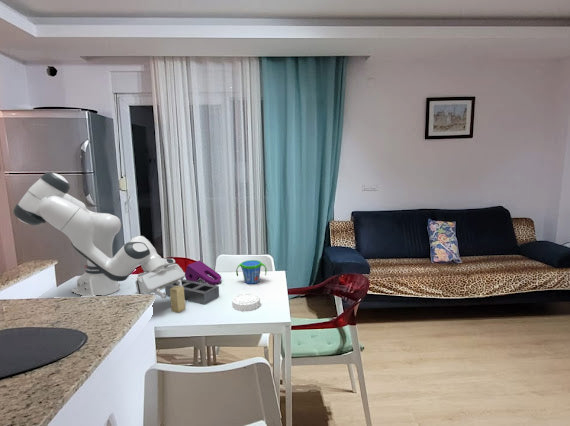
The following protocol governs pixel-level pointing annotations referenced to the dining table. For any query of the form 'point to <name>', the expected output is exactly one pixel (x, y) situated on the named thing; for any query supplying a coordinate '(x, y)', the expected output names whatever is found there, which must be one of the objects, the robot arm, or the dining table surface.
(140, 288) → the hinge
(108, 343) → the dining table surface
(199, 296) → the grey rectangular block
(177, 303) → the brass peg
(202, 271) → the mounting bracket
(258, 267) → the snack cup
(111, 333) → the dining table surface
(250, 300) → the mooncake
